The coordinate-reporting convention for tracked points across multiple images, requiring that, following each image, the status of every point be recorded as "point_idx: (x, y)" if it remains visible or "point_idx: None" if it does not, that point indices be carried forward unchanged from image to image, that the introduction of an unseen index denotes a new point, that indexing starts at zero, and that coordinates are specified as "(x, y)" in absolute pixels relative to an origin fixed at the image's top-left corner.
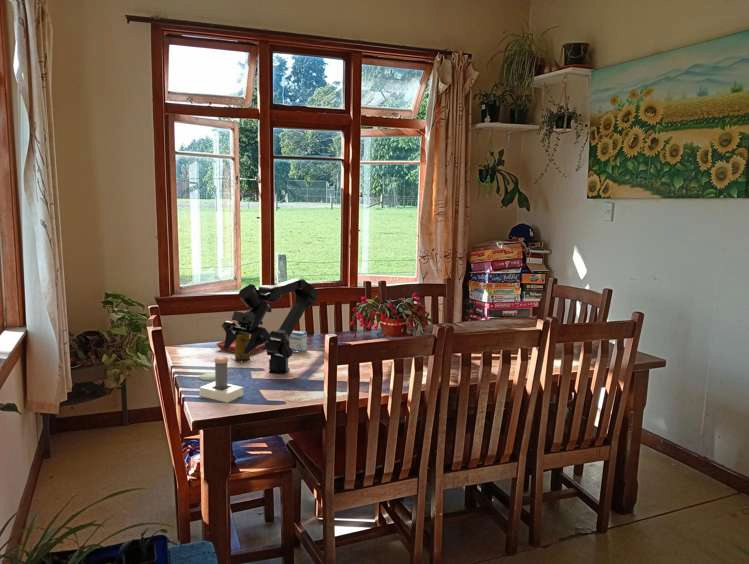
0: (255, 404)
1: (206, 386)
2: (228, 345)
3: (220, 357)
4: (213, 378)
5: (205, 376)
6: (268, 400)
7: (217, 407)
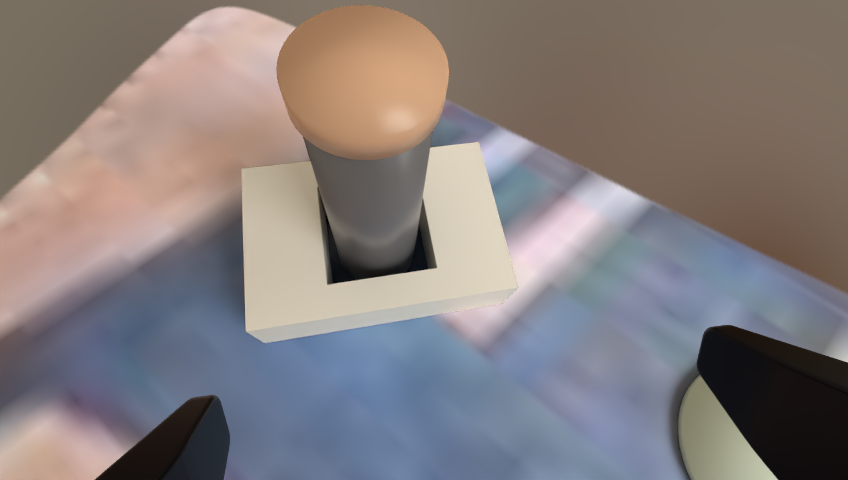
0: (78, 285)
1: (462, 176)
2: (786, 444)
3: (418, 92)
4: (703, 428)
5: None
6: (33, 403)
7: (251, 125)
